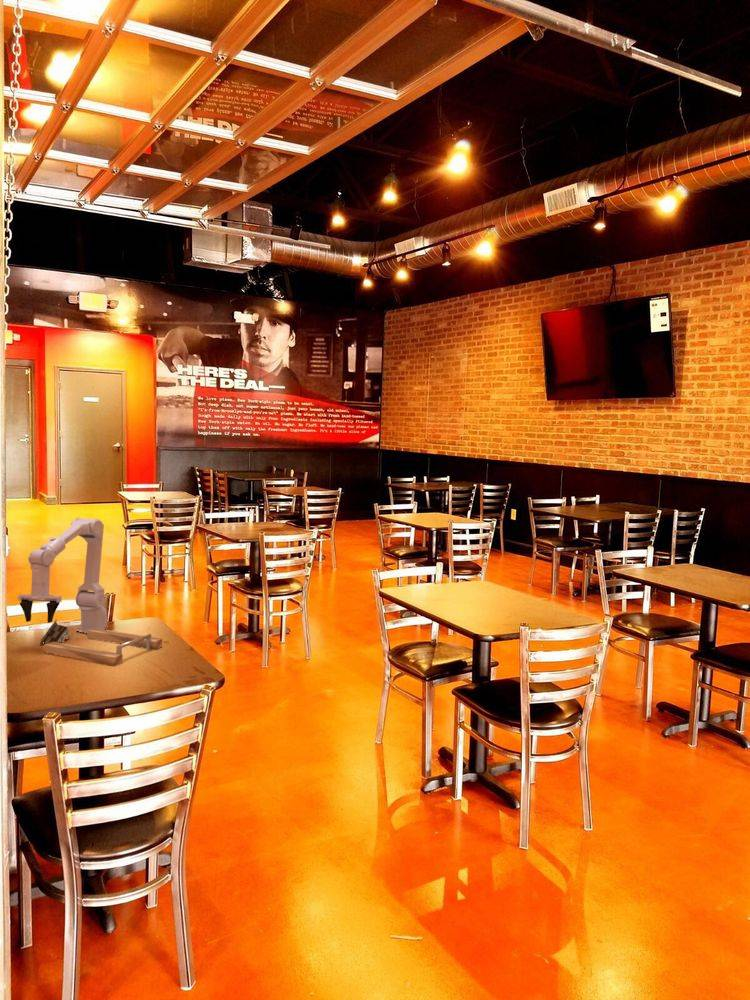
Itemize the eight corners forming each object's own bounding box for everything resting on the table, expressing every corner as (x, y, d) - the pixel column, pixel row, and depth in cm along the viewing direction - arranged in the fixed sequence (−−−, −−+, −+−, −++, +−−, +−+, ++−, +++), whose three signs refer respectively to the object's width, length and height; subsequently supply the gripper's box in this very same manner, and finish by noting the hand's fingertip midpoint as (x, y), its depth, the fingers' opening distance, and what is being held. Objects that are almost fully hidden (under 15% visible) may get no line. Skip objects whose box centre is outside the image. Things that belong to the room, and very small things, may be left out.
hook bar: (149, 648, 266) (148, 633, 266) (151, 649, 266) (151, 634, 265) (116, 661, 252) (116, 645, 251) (119, 662, 251) (119, 646, 250)
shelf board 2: (95, 635, 282) (95, 627, 281) (162, 646, 269) (162, 638, 268) (87, 638, 278) (87, 630, 278) (154, 649, 265) (154, 641, 265)
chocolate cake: (57, 648, 267) (73, 620, 275) (38, 642, 267) (54, 614, 275) (61, 659, 275) (76, 631, 282) (42, 653, 275) (58, 626, 282)
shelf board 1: (52, 649, 264) (52, 641, 263) (122, 662, 250) (122, 654, 250) (43, 653, 260) (43, 644, 260) (113, 666, 247) (113, 657, 247)
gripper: (14, 583, 258) (13, 622, 258) (55, 585, 257) (54, 624, 258) (24, 581, 265) (22, 619, 265) (64, 583, 264) (63, 621, 265)
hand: (39, 621), depth 262 cm, fingers open, 7 cm apart
